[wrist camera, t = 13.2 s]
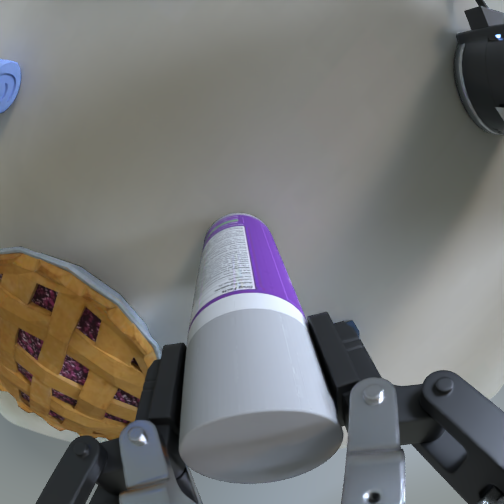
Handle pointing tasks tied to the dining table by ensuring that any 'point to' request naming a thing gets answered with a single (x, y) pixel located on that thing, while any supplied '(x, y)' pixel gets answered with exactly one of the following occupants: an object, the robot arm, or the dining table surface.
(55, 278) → the pie
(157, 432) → the robot arm
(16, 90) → the decorative dice
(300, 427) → the container
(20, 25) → the dining table surface
